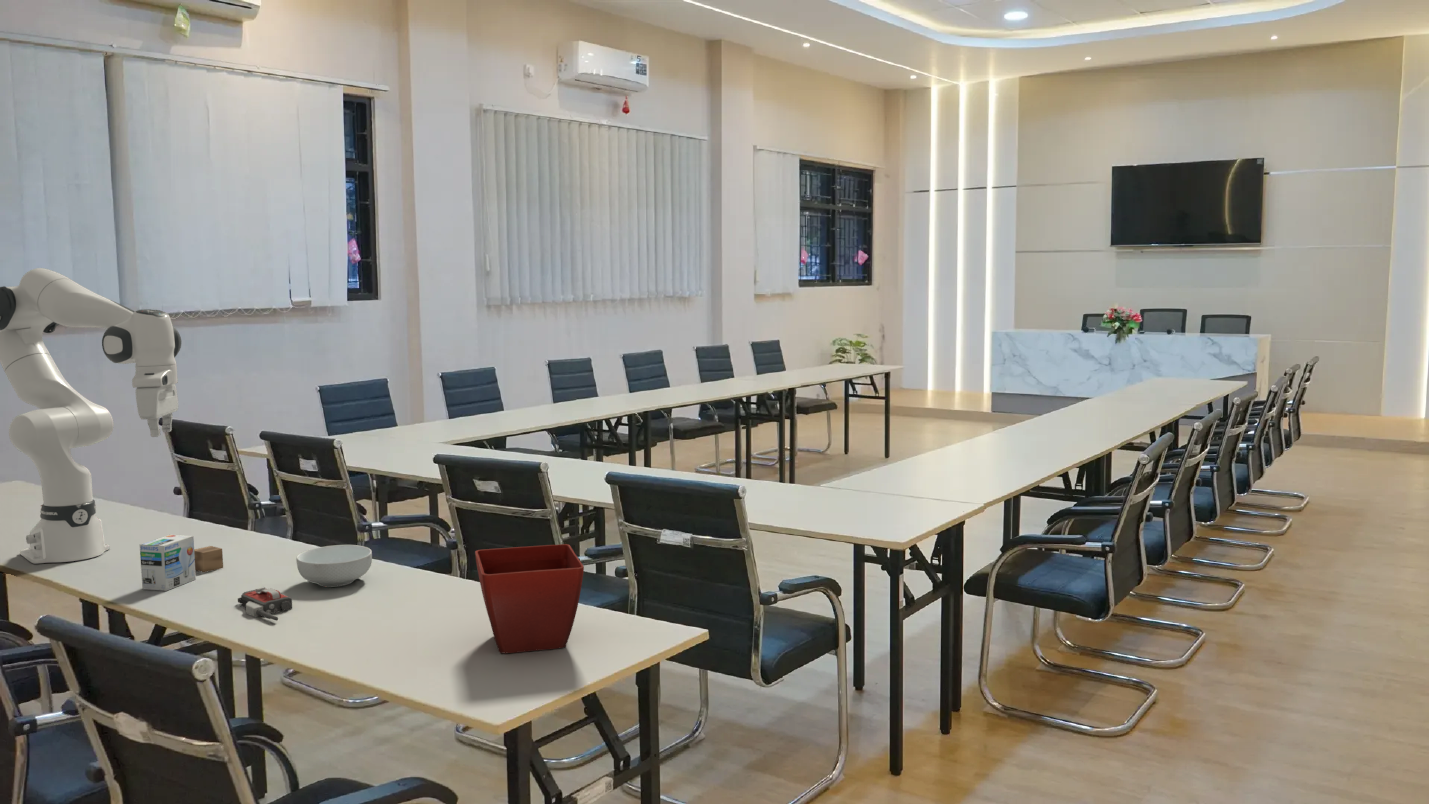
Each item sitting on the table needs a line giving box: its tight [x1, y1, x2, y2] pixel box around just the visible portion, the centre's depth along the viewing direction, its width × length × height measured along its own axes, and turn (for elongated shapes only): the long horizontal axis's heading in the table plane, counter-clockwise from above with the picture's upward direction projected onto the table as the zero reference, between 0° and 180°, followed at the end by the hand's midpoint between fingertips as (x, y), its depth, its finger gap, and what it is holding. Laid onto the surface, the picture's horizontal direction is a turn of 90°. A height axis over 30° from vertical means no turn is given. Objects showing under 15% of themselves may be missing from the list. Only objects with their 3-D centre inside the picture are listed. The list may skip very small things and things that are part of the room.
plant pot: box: [474, 543, 585, 654], centre depth 213 cm, size 19×19×17 cm
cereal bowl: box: [295, 544, 373, 588], centre depth 256 cm, size 17×17×7 cm
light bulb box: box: [139, 534, 197, 592], centre depth 254 cm, size 11×7×11 cm, turn 168°
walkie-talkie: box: [237, 586, 293, 621], centre depth 234 cm, size 9×4×20 cm
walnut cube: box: [194, 545, 224, 573], centre depth 269 cm, size 5×5×5 cm
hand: (161, 434), depth 262 cm, fingers open, 8 cm apart
